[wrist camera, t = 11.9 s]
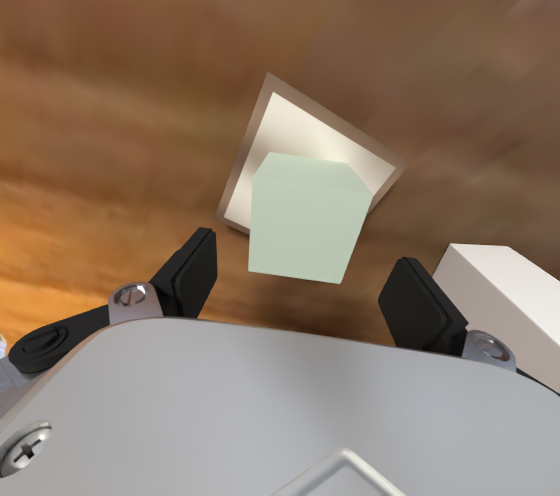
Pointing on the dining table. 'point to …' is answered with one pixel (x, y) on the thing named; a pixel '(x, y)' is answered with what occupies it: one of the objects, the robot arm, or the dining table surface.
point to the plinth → (302, 148)
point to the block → (305, 217)
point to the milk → (507, 303)
